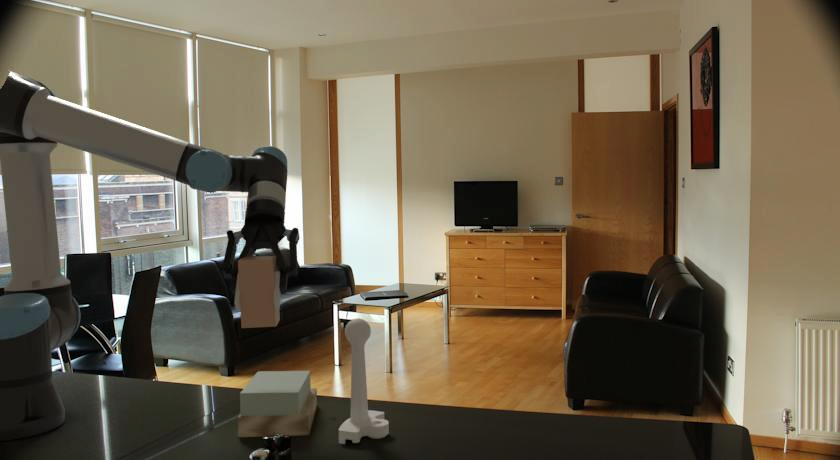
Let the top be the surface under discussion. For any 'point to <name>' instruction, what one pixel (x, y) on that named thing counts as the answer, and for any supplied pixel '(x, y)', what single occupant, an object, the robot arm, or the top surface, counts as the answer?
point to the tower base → (280, 421)
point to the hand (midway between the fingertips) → (257, 306)
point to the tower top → (275, 393)
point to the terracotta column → (257, 291)
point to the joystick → (360, 391)
